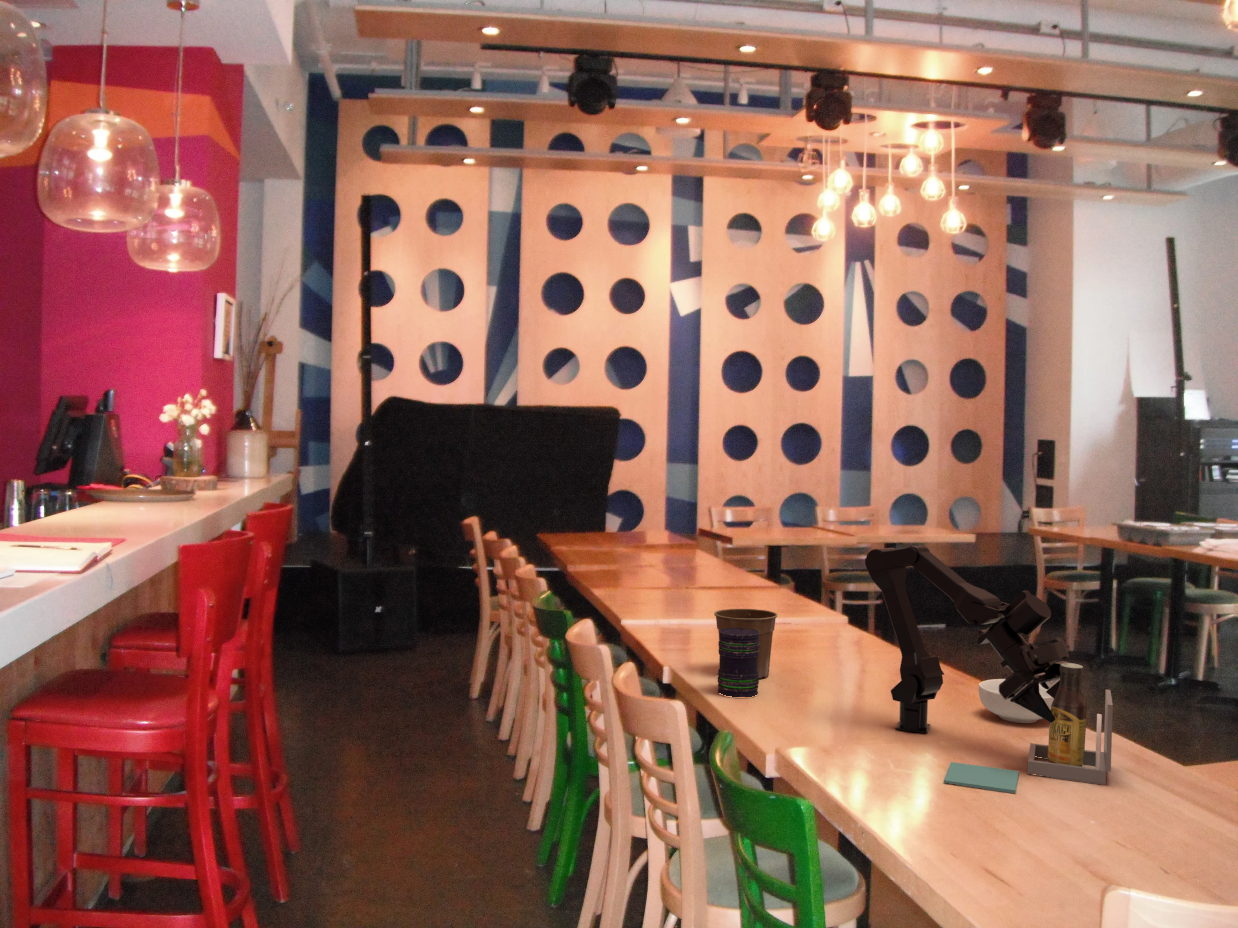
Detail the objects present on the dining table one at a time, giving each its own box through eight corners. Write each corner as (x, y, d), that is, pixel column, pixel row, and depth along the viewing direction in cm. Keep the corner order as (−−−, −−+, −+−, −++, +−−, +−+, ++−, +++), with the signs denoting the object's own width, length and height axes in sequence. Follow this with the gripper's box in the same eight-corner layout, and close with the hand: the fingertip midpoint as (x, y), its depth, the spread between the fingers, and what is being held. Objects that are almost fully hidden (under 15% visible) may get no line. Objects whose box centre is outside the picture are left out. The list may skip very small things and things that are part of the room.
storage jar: (753, 700, 245) (755, 636, 245) (712, 695, 248) (714, 633, 248) (762, 690, 254) (763, 629, 254) (722, 686, 257) (724, 626, 257)
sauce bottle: (1040, 766, 198) (1043, 661, 198) (1066, 763, 200) (1069, 659, 200) (1066, 776, 192) (1069, 668, 191) (1092, 773, 194) (1095, 666, 194)
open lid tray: (1030, 755, 204) (1032, 681, 204) (1107, 765, 199) (1110, 689, 199) (1027, 774, 192) (1029, 696, 192) (1110, 785, 187) (1112, 705, 187)
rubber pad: (950, 764, 197) (950, 761, 197) (1018, 774, 193) (1018, 770, 193) (943, 783, 186) (943, 780, 186) (1015, 793, 182) (1015, 790, 182)
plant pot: (706, 678, 266) (707, 615, 266) (720, 666, 282) (722, 606, 281) (769, 684, 261) (771, 620, 261) (780, 671, 276) (782, 610, 276)
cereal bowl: (964, 717, 233) (965, 685, 233) (998, 705, 245) (999, 675, 245) (1039, 733, 221) (1040, 700, 221) (1071, 719, 233) (1072, 688, 233)
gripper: (1014, 628, 194) (1070, 699, 186) (1066, 619, 206) (1121, 686, 197) (976, 664, 200) (1028, 734, 192) (1028, 653, 212) (1079, 719, 204)
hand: (1066, 717), depth 196 cm, fingers open, 9 cm apart
